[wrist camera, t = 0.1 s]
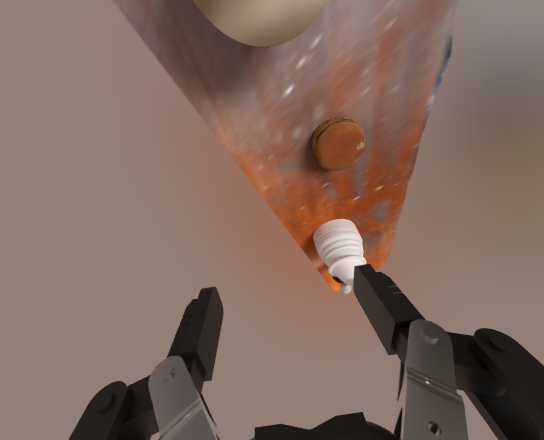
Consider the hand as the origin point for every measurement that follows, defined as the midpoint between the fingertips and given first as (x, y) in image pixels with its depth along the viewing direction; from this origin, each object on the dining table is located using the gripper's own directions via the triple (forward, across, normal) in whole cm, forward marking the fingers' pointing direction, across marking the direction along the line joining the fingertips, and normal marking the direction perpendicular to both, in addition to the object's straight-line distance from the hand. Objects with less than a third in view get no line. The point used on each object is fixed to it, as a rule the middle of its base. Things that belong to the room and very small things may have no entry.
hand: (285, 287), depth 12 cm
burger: (+33, -14, -4) cm, 36 cm away
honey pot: (+43, -17, +25) cm, 53 cm away
